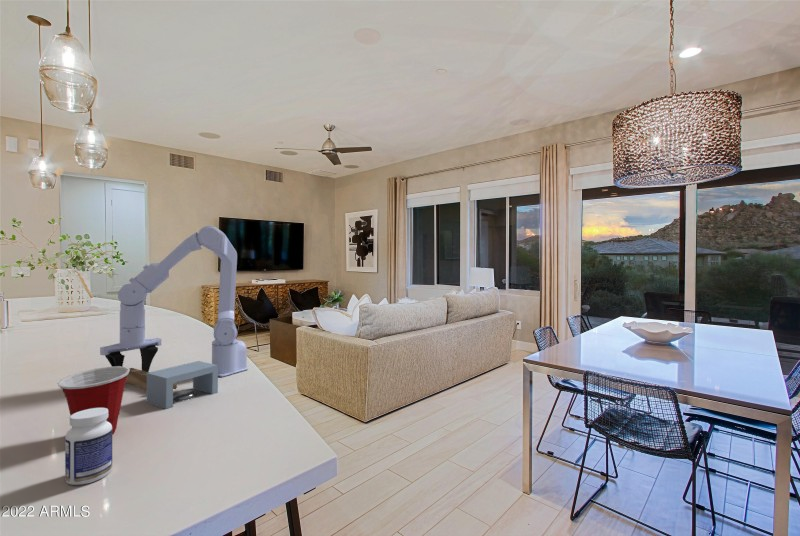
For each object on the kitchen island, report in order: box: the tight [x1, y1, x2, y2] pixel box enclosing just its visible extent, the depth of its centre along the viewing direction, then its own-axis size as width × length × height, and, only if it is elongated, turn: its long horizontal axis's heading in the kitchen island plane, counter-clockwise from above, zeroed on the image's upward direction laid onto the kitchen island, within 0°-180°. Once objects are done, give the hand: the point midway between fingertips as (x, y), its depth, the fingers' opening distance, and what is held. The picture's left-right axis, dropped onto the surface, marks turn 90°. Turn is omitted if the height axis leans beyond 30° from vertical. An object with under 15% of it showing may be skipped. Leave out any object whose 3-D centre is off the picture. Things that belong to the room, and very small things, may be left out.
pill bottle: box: [64, 408, 113, 486], centre depth 59 cm, size 6×6×10 cm
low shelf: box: [146, 360, 219, 410], centre depth 94 cm, size 13×8×7 cm, turn 151°
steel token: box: [173, 389, 196, 402], centre depth 94 cm, size 5×5×1 cm
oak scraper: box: [125, 367, 178, 390], centre depth 102 cm, size 6×18×4 cm, turn 62°
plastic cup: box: [57, 366, 130, 436], centre depth 73 cm, size 11×11×12 cm
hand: (132, 375), depth 105 cm, fingers open, 6 cm apart
